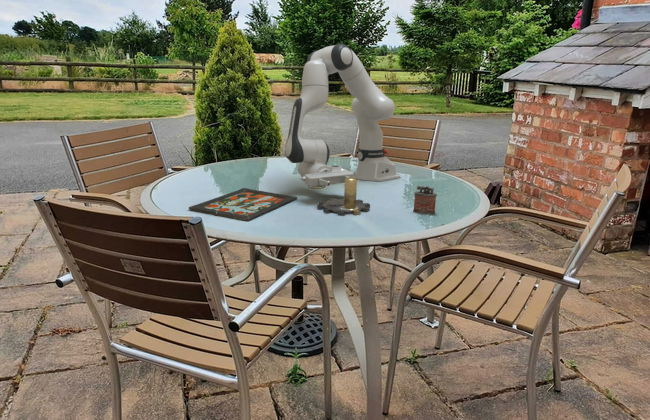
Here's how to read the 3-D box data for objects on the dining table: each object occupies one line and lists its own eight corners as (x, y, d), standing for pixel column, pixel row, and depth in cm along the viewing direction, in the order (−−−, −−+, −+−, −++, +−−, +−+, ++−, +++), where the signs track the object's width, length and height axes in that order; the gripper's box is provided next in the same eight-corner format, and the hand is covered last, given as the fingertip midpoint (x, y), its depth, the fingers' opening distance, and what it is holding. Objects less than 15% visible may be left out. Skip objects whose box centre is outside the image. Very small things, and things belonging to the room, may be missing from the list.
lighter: (435, 212, 180) (437, 186, 177) (434, 214, 177) (436, 188, 174) (413, 210, 183) (415, 184, 180) (412, 212, 179) (414, 186, 177)
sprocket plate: (352, 198, 197) (352, 195, 196) (380, 211, 180) (380, 208, 180) (308, 204, 188) (308, 201, 187) (333, 218, 171) (334, 214, 171)
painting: (299, 201, 196) (299, 196, 195) (249, 225, 166) (249, 219, 165) (242, 191, 207) (242, 186, 206) (186, 212, 177) (185, 205, 176)
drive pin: (351, 205, 183) (352, 176, 179) (358, 208, 179) (359, 179, 176) (341, 206, 181) (342, 177, 177) (347, 209, 177) (348, 180, 174)
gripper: (298, 170, 191) (315, 177, 179) (343, 165, 201) (361, 172, 189) (299, 185, 193) (314, 193, 181) (343, 180, 202) (361, 187, 191)
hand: (339, 182), depth 185 cm, fingers open, 8 cm apart
